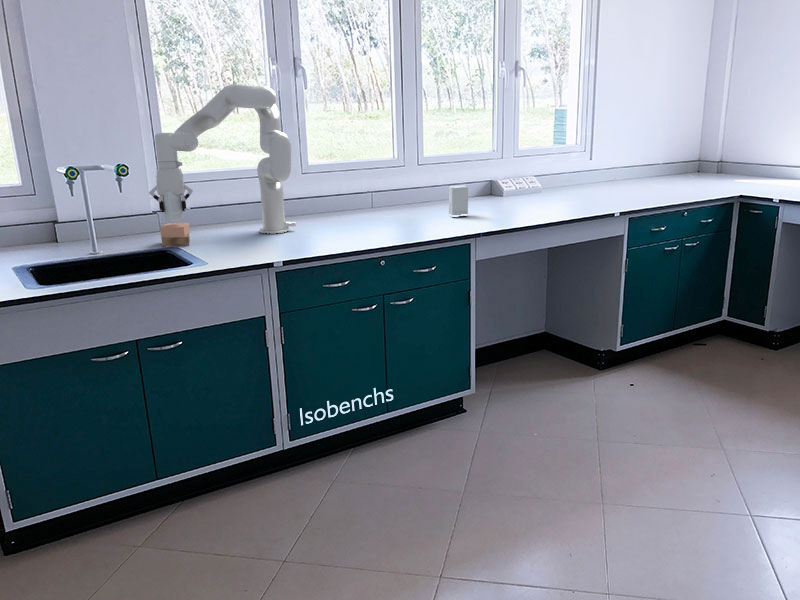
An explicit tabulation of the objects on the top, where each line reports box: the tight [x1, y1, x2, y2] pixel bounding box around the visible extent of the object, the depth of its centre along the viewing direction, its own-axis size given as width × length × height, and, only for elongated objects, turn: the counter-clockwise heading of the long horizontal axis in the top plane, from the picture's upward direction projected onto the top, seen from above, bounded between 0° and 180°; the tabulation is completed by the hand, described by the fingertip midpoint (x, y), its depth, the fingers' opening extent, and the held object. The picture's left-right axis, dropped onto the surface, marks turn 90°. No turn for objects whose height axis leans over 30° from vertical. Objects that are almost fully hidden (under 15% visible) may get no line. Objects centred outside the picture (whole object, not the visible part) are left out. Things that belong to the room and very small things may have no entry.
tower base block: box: [161, 233, 191, 248], centre depth 261 cm, size 10×10×4 cm
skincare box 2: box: [448, 184, 469, 215], centre depth 315 cm, size 8×6×15 cm
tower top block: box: [159, 222, 191, 239], centre depth 260 cm, size 9×9×4 cm
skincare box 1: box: [162, 191, 185, 223], centre depth 257 cm, size 6×4×12 cm
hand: (173, 211), depth 258 cm, fingers closed on skincare box 1, 7 cm apart
